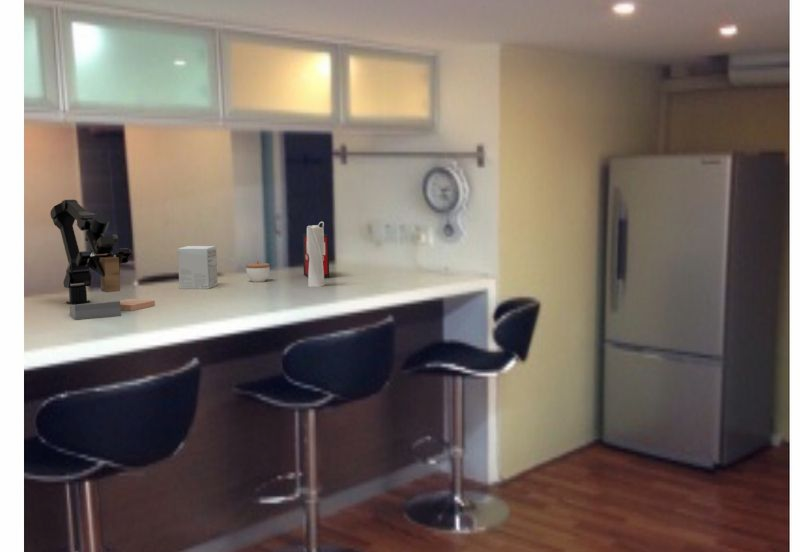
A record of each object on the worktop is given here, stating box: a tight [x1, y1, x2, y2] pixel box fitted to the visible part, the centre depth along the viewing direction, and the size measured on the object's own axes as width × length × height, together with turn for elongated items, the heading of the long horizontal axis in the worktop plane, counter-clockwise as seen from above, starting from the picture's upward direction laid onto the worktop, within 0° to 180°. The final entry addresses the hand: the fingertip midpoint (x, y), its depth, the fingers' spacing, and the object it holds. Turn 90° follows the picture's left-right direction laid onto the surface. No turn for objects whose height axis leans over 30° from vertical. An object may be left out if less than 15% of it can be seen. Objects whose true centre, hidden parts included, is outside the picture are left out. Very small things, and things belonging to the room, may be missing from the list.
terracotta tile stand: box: [119, 298, 156, 312], centre depth 308 cm, size 12×12×2 cm
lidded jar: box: [245, 260, 271, 283], centre depth 378 cm, size 11×11×9 cm
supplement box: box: [177, 245, 218, 290], centre depth 361 cm, size 13×13×18 cm
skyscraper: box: [306, 221, 325, 288], centre depth 359 cm, size 8×8×28 cm
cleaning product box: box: [302, 233, 330, 280], centre depth 392 cm, size 16×9×20 cm, turn 17°
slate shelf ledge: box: [69, 300, 122, 321], centre depth 291 cm, size 12×15×5 cm
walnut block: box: [99, 257, 121, 293], centre depth 296 cm, size 5×5×12 cm
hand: (111, 275), depth 295 cm, fingers closed on walnut block, 5 cm apart
